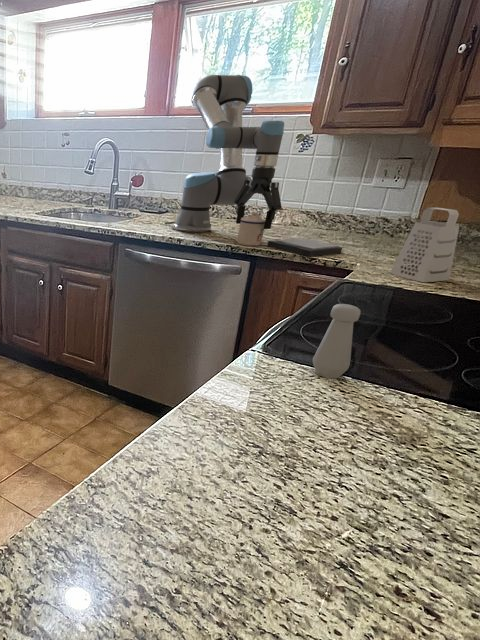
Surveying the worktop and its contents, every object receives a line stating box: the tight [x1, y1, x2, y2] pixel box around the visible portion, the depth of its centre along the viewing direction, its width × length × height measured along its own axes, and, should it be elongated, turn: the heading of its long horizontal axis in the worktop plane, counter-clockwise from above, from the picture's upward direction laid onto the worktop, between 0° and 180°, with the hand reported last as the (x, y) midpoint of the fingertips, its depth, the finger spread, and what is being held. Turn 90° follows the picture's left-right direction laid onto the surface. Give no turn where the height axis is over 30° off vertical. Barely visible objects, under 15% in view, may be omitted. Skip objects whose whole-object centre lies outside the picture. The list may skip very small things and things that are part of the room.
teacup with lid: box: [236, 211, 266, 247], centre depth 200 cm, size 12×9×12 cm
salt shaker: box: [312, 303, 361, 380], centre depth 93 cm, size 6×6×13 cm
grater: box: [389, 207, 460, 283], centre depth 155 cm, size 10×10×20 cm
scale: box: [267, 237, 343, 258], centre depth 192 cm, size 18×16×2 cm
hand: (252, 226), depth 200 cm, fingers open, 13 cm apart
